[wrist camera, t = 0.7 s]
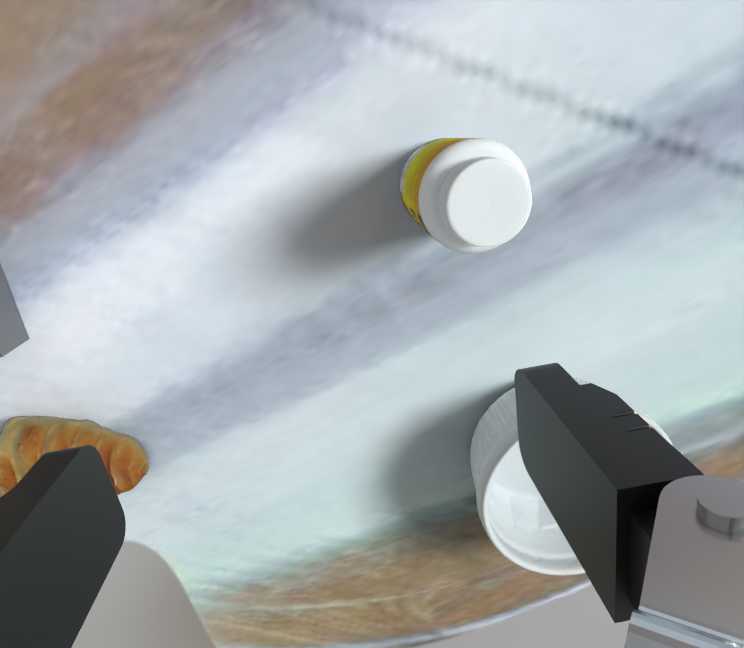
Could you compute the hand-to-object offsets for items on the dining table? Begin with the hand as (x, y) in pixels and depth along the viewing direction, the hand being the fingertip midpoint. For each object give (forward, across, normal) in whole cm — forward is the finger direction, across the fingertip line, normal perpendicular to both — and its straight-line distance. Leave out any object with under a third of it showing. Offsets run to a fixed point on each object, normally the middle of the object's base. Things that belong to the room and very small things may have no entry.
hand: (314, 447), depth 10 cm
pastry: (+25, +21, +13) cm, 35 cm away
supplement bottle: (+25, -8, -1) cm, 26 cm away
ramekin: (+25, -13, +19) cm, 34 cm away
